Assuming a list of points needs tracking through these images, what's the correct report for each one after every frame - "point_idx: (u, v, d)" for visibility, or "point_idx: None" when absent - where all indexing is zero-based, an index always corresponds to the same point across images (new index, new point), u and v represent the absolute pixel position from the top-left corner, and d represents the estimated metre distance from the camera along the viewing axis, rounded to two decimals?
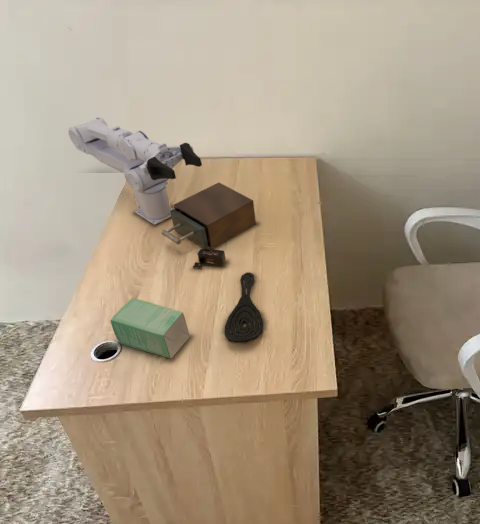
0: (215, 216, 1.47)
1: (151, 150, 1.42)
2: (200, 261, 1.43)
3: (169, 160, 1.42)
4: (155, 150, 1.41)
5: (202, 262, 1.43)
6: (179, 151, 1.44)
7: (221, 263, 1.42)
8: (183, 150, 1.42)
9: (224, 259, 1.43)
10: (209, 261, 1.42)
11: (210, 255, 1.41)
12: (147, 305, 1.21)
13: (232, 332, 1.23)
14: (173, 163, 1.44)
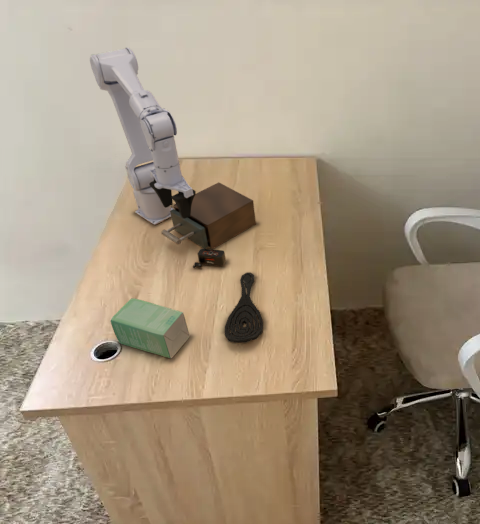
0: (215, 216, 1.47)
1: None
2: (200, 261, 1.43)
3: None
4: (157, 177, 1.36)
5: (202, 262, 1.43)
6: None
7: (221, 263, 1.42)
8: None
9: (224, 259, 1.43)
10: (209, 261, 1.42)
11: (210, 255, 1.41)
12: (147, 305, 1.21)
13: (232, 332, 1.23)
14: None
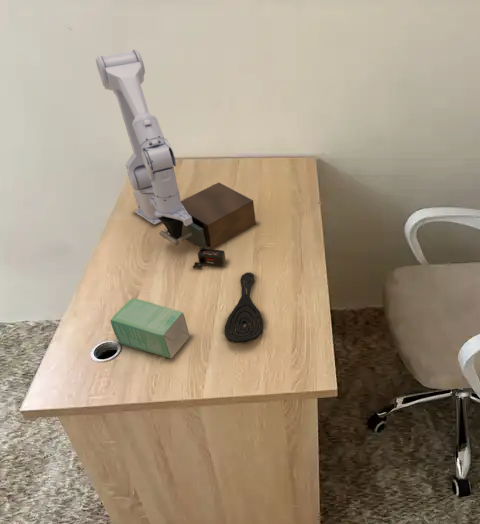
0: (215, 216, 1.47)
1: None
2: (200, 261, 1.43)
3: None
4: (157, 206, 1.40)
5: (202, 262, 1.43)
6: None
7: (221, 263, 1.42)
8: None
9: (224, 259, 1.43)
10: (209, 261, 1.42)
11: (210, 255, 1.41)
12: (147, 305, 1.21)
13: (232, 332, 1.23)
14: None
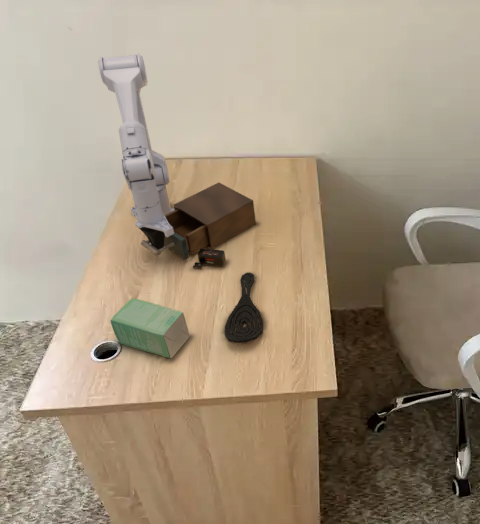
0: (215, 216, 1.47)
1: None
2: (200, 261, 1.43)
3: None
4: (138, 216, 1.37)
5: (202, 262, 1.43)
6: None
7: (221, 263, 1.42)
8: None
9: (224, 259, 1.43)
10: (209, 261, 1.42)
11: (210, 255, 1.41)
12: (147, 305, 1.21)
13: (232, 332, 1.23)
14: None
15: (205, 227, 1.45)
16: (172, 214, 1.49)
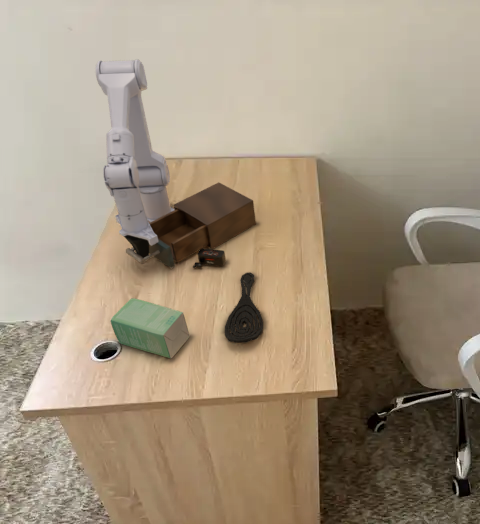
0: (215, 216, 1.47)
1: None
2: (200, 261, 1.43)
3: None
4: (121, 224, 1.34)
5: (202, 262, 1.43)
6: None
7: (221, 263, 1.42)
8: None
9: (224, 259, 1.43)
10: (209, 261, 1.42)
11: (210, 255, 1.41)
12: (147, 305, 1.21)
13: (232, 332, 1.23)
14: None
15: (191, 235, 1.42)
16: (158, 221, 1.47)
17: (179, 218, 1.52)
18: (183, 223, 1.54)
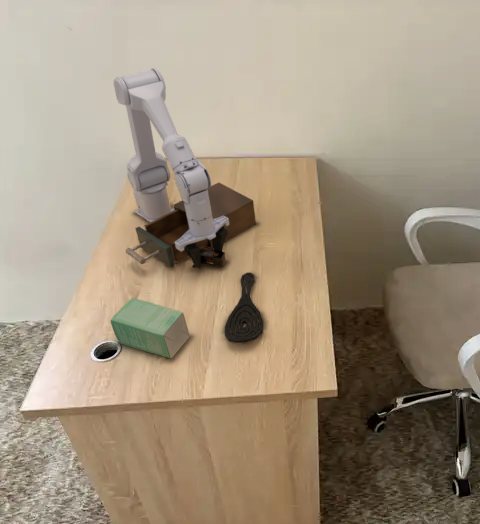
0: (215, 216, 1.47)
1: (201, 228, 1.33)
2: None
3: None
4: (203, 232, 1.34)
5: (202, 262, 1.43)
6: None
7: (221, 264, 1.42)
8: (218, 237, 1.40)
9: (224, 260, 1.43)
10: (209, 262, 1.42)
11: (210, 255, 1.41)
12: (147, 305, 1.21)
13: (232, 332, 1.23)
14: None
15: None
16: (158, 221, 1.47)
17: (179, 218, 1.52)
18: (183, 223, 1.54)
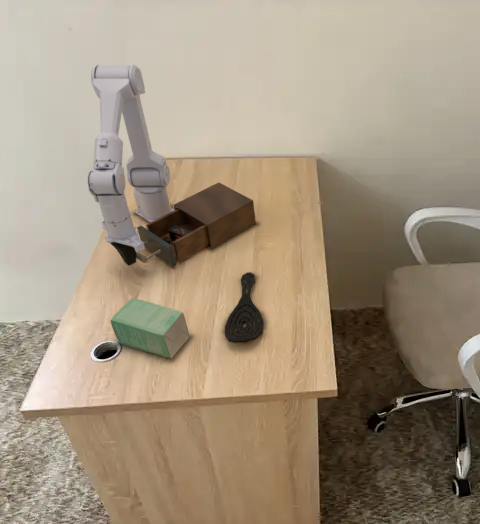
0: (215, 216, 1.47)
1: None
2: (170, 237, 1.47)
3: None
4: (107, 231, 1.32)
5: (172, 238, 1.47)
6: None
7: None
8: None
9: None
10: (177, 238, 1.46)
11: (178, 233, 1.45)
12: (147, 305, 1.21)
13: (232, 332, 1.23)
14: None
15: (193, 234, 1.43)
16: (160, 220, 1.47)
17: (181, 217, 1.52)
18: (185, 222, 1.54)
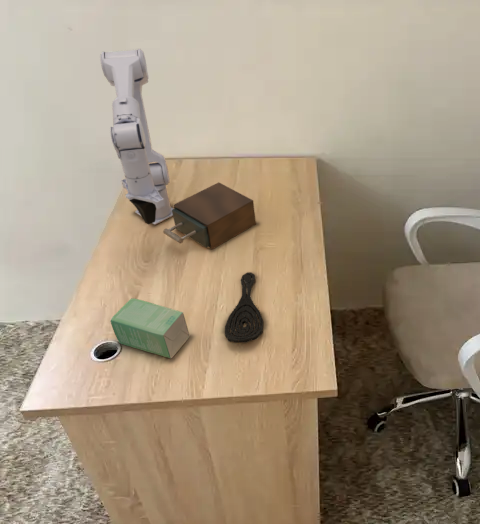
0: (215, 216, 1.47)
1: None
2: None
3: None
4: (128, 187, 1.33)
5: None
6: None
7: None
8: None
9: None
10: None
11: None
12: (147, 305, 1.21)
13: (232, 332, 1.23)
14: None
15: None
16: None
17: None
18: None
